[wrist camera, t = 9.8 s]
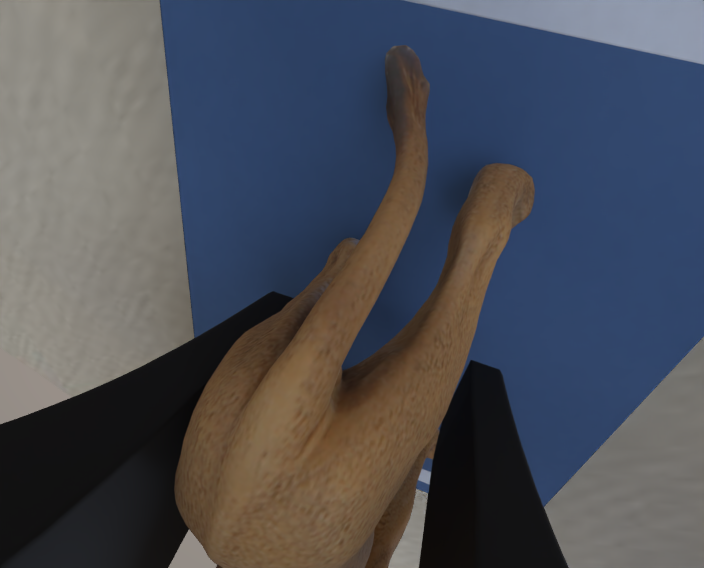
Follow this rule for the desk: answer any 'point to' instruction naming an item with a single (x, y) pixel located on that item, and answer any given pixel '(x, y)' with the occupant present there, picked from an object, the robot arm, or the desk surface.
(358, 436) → the lion figurine
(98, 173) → the desk surface
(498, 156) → the towel
